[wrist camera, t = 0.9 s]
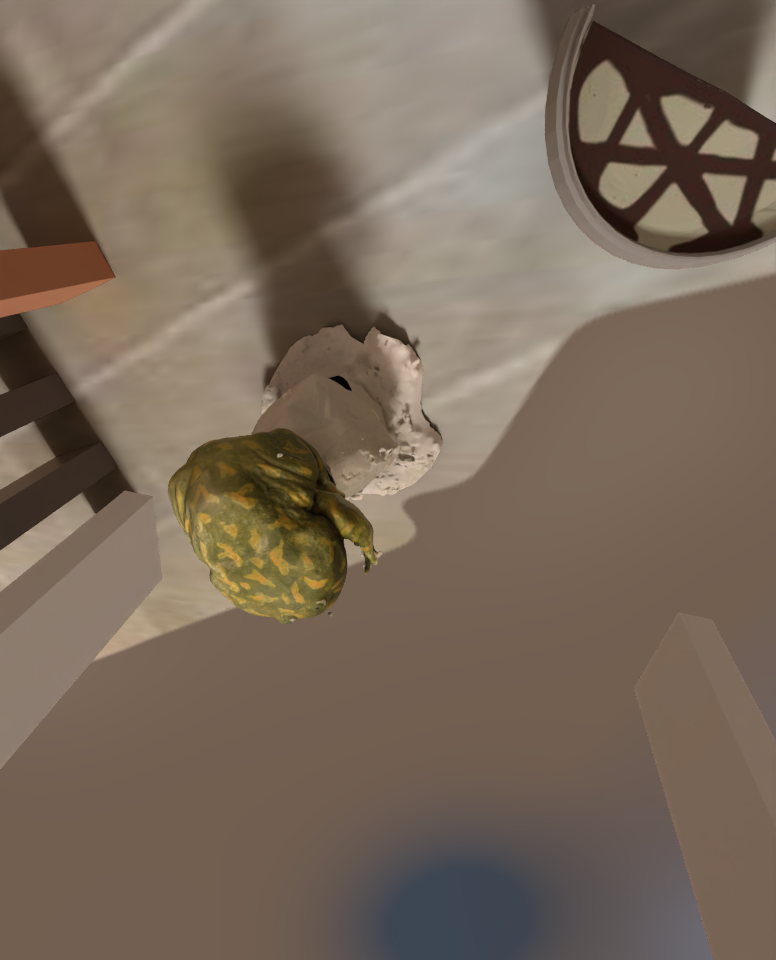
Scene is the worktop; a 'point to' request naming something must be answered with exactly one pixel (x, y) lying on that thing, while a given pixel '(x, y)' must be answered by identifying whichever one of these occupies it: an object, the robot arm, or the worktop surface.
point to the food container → (655, 154)
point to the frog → (306, 473)
